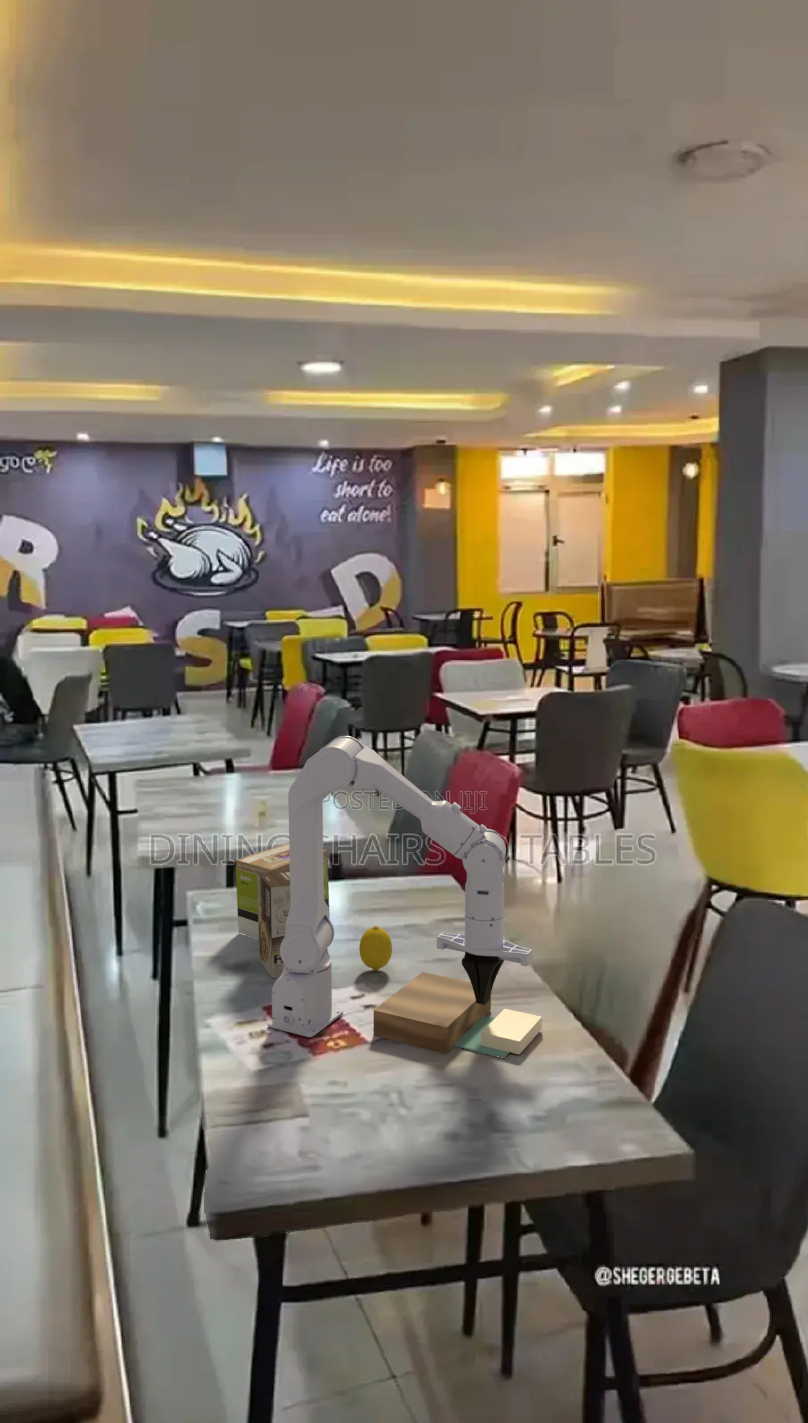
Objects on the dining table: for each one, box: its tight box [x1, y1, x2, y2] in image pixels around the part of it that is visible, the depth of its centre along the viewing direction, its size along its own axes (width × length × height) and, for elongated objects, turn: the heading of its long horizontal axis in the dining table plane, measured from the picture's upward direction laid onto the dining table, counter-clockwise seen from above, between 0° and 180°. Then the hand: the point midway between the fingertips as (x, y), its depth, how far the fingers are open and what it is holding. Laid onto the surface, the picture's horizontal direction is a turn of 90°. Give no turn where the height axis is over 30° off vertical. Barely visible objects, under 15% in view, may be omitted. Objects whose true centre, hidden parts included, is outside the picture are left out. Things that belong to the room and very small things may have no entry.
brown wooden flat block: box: [373, 971, 492, 1054], centre depth 164 cm, size 16×12×4 cm
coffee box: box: [257, 868, 291, 979], centre depth 184 cm, size 9×6×16 cm
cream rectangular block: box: [481, 1008, 543, 1055], centre depth 159 cm, size 9×6×2 cm, turn 152°
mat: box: [454, 1015, 511, 1059], centre depth 160 cm, size 11×8×1 cm
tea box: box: [235, 842, 331, 941], centre depth 202 cm, size 15×10×15 cm, turn 141°
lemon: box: [358, 925, 393, 972], centre depth 183 cm, size 6×6×8 cm
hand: (482, 1001), depth 161 cm, fingers closed
